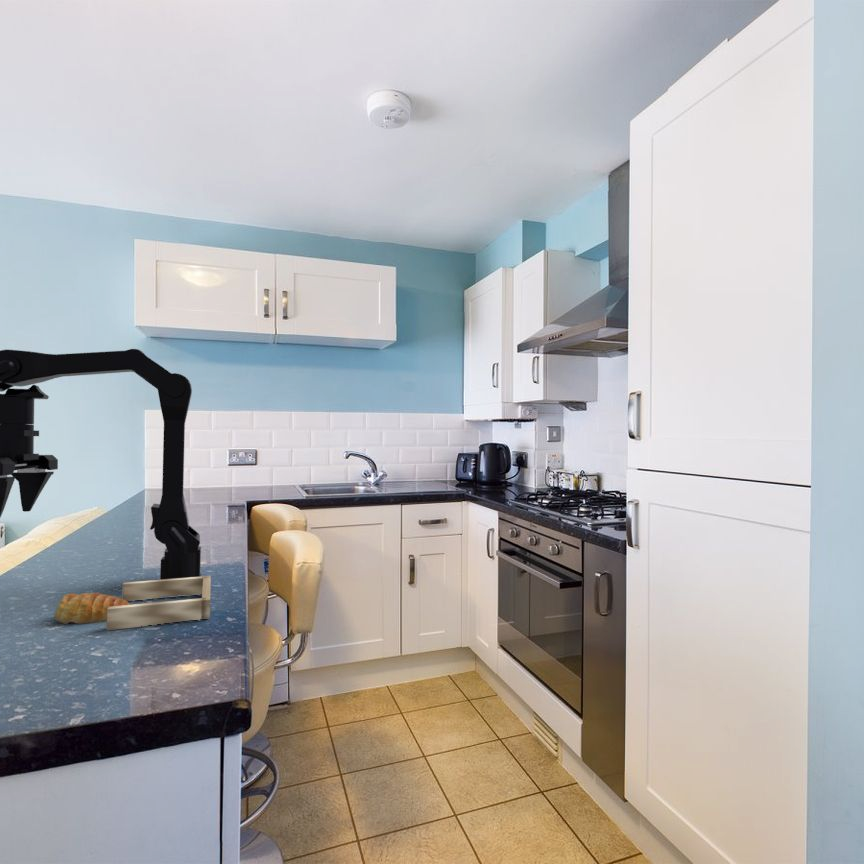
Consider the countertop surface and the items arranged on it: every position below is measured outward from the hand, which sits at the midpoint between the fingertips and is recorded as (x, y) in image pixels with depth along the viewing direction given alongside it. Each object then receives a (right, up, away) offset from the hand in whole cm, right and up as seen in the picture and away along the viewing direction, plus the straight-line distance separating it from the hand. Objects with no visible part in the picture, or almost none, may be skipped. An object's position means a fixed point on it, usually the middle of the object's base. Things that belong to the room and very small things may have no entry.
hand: (11, 515), depth 90 cm
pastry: (+20, -15, -9) cm, 26 cm away
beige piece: (+29, -14, -6) cm, 33 cm away
